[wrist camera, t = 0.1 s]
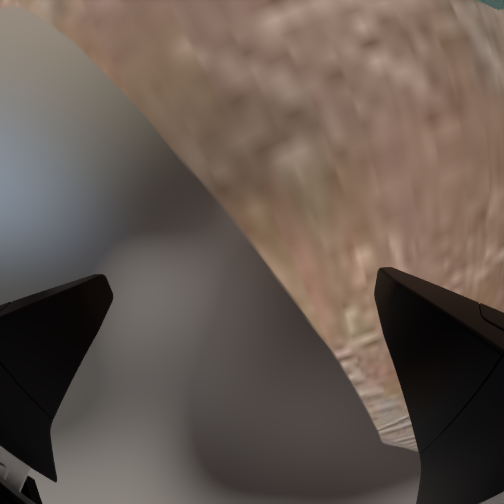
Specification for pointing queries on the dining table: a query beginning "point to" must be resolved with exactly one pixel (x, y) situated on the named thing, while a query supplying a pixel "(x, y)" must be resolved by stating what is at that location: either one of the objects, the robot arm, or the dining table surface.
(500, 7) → the teal block
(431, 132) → the dining table surface
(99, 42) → the dining table surface
